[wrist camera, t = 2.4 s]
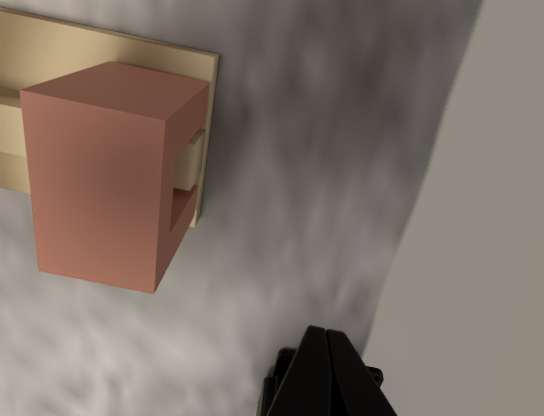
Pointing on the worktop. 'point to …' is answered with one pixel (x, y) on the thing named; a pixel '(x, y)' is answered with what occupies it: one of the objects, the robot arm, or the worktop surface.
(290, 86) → the worktop surface
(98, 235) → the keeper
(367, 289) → the worktop surface
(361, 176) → the worktop surface
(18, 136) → the rail
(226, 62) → the worktop surface
